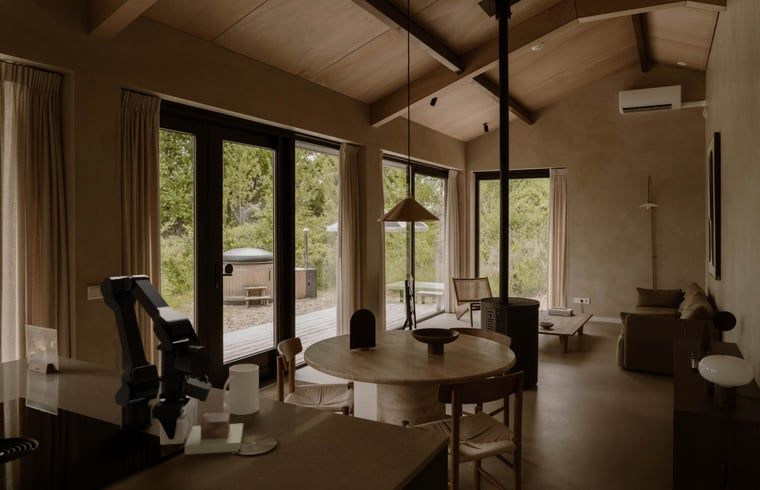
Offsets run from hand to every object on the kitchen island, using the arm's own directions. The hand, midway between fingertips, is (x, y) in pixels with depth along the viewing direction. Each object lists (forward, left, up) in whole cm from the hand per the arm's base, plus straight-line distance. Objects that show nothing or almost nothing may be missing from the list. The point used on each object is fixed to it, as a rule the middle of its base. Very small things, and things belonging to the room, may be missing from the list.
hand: (173, 434), depth 126 cm
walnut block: (+10, -3, +1) cm, 10 cm away
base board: (+10, -3, -1) cm, 11 cm away
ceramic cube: (0, 0, -1) cm, 1 cm away
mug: (+14, +18, -2) cm, 23 cm away
